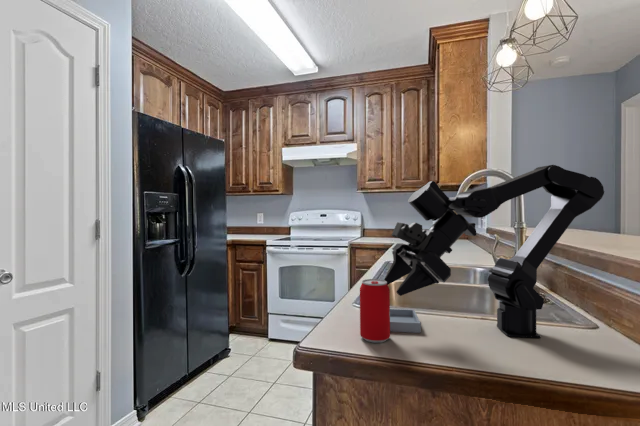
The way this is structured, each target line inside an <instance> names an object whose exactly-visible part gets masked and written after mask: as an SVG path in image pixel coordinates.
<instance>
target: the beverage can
mask: <svg viewBox="0 0 640 426" xmlns="http://www.w3.org/2000/svg"><path fill="white" fill-rule="evenodd" d="M390 290H391V289H390V287H389V284H388V285H387V281H385V280H384V279H379V278H368V279H364V280H362V282H361V285H360V287H359V334H360V337H361V339H364V340H365V341H366V342H369V343H373V344H378V343H380V344H381V343H384V342H386V341H387V340H389V339H390V338H391V331H390V309H391V298H390V296H391V295H390V292H391V291H390Z"/></svg>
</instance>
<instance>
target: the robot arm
mask: <svg viewBox="0 0 640 426" xmlns="http://www.w3.org/2000/svg"><path fill="white" fill-rule="evenodd" d="M540 188H543V189H544V191H545V192H546V193H548V194H550V195H551V197H550V208H549V209H548V210H547V212H546V213H545V214H544V215H543V217H542V218H541V220H540V221H539V223H538V224H537V225H536V227H534V229H533V231H532V232H531V233H530V235H528V237H527V239H526V240H525V241H524V242H523V244H522V245H521V246H520V248H519V249H518V250H517V252H516V253H515V255H513V257H511V258H504V257H499V258H498V259H497V261H496V263H495V265H494V266H493V267H492V268H490V269H489V270H488V272H490V273H489V275H488V277H487V282H488V288H489V289H490V290H491V291H492V292H493V296H494V298H495V300H497V301H499V308H498V307H497V308H496V318H497V319H496V322H497V323H496V327H497V328H498V329H499V330H500V331H501V332H502V333H503V334H504V335H506V336H507V337H515V338H516V337H517V338H533V339H534V338H536V339H540V338H541V334H539V333H538V332H537V310H542V309H543V306H544V302H545V299H544V298H543V297H542V295H540V294H539V293H538V292H537V290H536V289H534V288H535V286H536V284H537V280H538V279H537V278H538V277H537V276H538V275H537V274H538V269H539V267H540V266H541V264H542V263H543V261H545V259H546V258H547V256H548V255H549V254H550V253H551V250H552V249H553V248H554V247H555V245H556V244H557V242H559V240H560V239H561V237H562V236H563V235H564V233H565V232H566V231H567V229H568V228H569V226H570V225H571V224H572V222H573V221H574V219H576V218H577V217H578V216H581V215H582V214H584V213H585V212H587V211H589V210H591V209H592V208H594V206H596V205H597V204H598V203H599V202H600V201H601V200H602V199H603V196H604V195H605V190H604V186H603V184H602V182H601V181H600V180H599V179H598V178H597V177H595V176H588V175H587V174H584V173H580V172H576V171H572V170H569V169H565V168H564V167H561V166H559V165H556V164H550V165H544V166H539V167H538V166H537V167H536V168H534V169H533V170H531V171H527V172H526V173H523V174H521V175H520V174H519V175H518V176H515V177H513V178H510V179H508V180H505V181H502V182H500V183H497V184H495V185H492V186H489V187H484V188H477V189H472V190H467V191H462V192H459V193H458V194H456V195H455V196H453V197H449V196H447V194H446V193H445V192H444V191H443V190H442V189H441V188H440V186H439V185H438V183H436V181H434V180H431V181H428V182H427V183H426V184H425V185H423V186H422V187H420V188H418V189H417V190H416V191H414V192H413V193H412V194H411V195H410V196H409V198H408V200H407V203H409V205H411V206H412V208H413V209H414V210H415V211H416V212H417V213H418V214H419V215H420V216H421V217H422V218H423V219H424V220H425V221H426V222H428V221H431V220H432V221H433V222H434V223H433V224H432V225H431V226H430V228H429V229H424V228H423V225H422V224H420V223H418V222H411V224H407V223H405V222H397V223H396V224H395V227H394V229H393V231H392V234H391V237H394V238H398V239H400V240H402V241H404V242H406V243H407V244H406V243H402V242H399V243H396V244H394V246H393V247H392V248H391V249H392V252H391V253H392V257H393V258H392V259H393V262H392V263H391V266H390V268H389V269H388V272H387V273H386V276H385V277H384V279H383V280H385V281H387V285H388V286H389V285H390V284H393V283H394V282H396V281H398V280H399V279H401V278H403V277H406V278H405V279H404V280H403V281H402V283H401V284H400V285H399V287H398V288H397V290H396V293H397V295H398V296H400V297H402V296H403V295H406V294H409V293H412V292H414V291H417V290H421V289H422V288H426V287H428V286H432V285H435V284H437V285H438V284H440V282H442V283H445V282H447V280H448V279H449V278H450V277H451V276H452V270H451V267H450V266H449V265H447V263H446V262H445V261H444V260H443V259H442V256H443V255H444V254H445V253H447V254H450V253H452V251H453V248H452V246H453V245H454V244H455V243H456V242H458V240H459V239H460V238H461V236H463V234H465V236H471V237H472V236H473V237H476V236H477V229H476V223H475V222H470V221H468V220H467V218H473V219H475V218H476V219H477V218H480V219H481V218H485V217H487V216H488V215H489V214H491V213H493V212H495V211H497V209H499V208H500V207H501V205H502V204H505V202H508V201H510V200H513V199H515V198H518V197H520V196H522V195H525V194H528V193H530V192H533V191H535V190H538V189H540ZM406 275H407V276H406Z"/></svg>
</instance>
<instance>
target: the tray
mask: <svg viewBox="0 0 640 426" xmlns="http://www.w3.org/2000/svg"><path fill="white" fill-rule="evenodd" d="M421 324H422V323H421V321H420V319H419V317H418V315H417V313H416V310H415V309H411V308H410V309H409V308H403V309H402V308H390V332H395V333H396V332H398V333H399V332H400V333H416V334H418V333H420V334H421V332H422V331H421V330H422V329H421V327H422V326H421Z"/></svg>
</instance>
